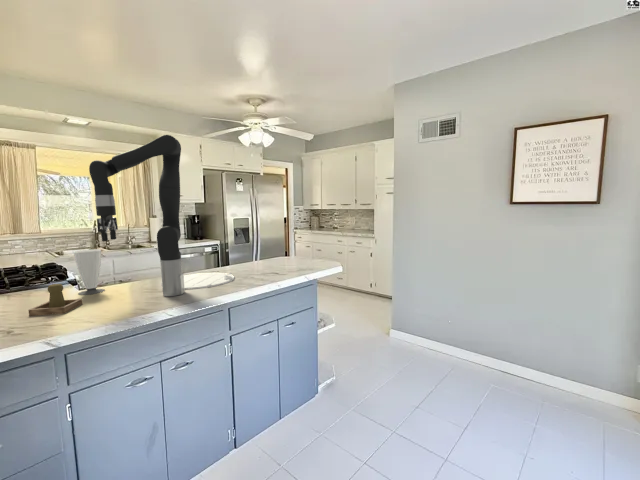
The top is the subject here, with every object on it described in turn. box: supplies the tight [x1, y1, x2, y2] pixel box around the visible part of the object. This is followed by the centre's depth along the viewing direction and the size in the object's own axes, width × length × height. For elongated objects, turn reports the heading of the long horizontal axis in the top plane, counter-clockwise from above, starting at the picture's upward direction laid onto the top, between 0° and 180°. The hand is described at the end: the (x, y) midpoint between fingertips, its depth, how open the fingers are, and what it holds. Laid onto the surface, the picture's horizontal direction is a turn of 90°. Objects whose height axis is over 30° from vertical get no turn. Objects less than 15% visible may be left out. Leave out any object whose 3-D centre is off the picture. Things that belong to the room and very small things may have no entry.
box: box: [28, 298, 83, 317], centre depth 139 cm, size 13×13×2 cm
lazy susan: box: [161, 272, 235, 290], centre depth 188 cm, size 40×39×3 cm
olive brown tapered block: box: [47, 283, 66, 308], centre depth 138 cm, size 6×6×11 cm
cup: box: [73, 248, 106, 296], centre depth 167 cm, size 12×12×22 cm
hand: (109, 240), depth 152 cm, fingers open, 8 cm apart
